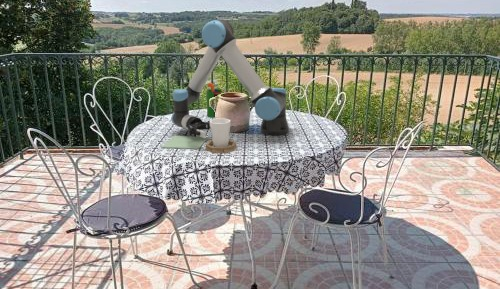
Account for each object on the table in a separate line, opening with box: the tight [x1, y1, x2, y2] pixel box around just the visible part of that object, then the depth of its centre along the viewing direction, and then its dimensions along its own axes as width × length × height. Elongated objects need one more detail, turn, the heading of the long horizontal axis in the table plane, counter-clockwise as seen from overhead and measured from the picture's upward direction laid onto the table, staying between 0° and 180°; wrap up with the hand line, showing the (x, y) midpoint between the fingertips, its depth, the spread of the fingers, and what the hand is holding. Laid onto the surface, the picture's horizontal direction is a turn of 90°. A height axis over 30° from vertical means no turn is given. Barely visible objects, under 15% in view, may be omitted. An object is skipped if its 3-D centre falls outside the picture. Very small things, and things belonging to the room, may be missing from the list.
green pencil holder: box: [205, 82, 222, 119], centre depth 238 cm, size 10×9×20 cm
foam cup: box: [209, 117, 231, 148], centre depth 180 cm, size 10×9×13 cm
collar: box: [205, 139, 237, 154], centre depth 182 cm, size 13×13×2 cm
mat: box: [161, 135, 209, 150], centre depth 191 cm, size 18×18×1 cm
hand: (217, 132), depth 181 cm, fingers open, 13 cm apart
